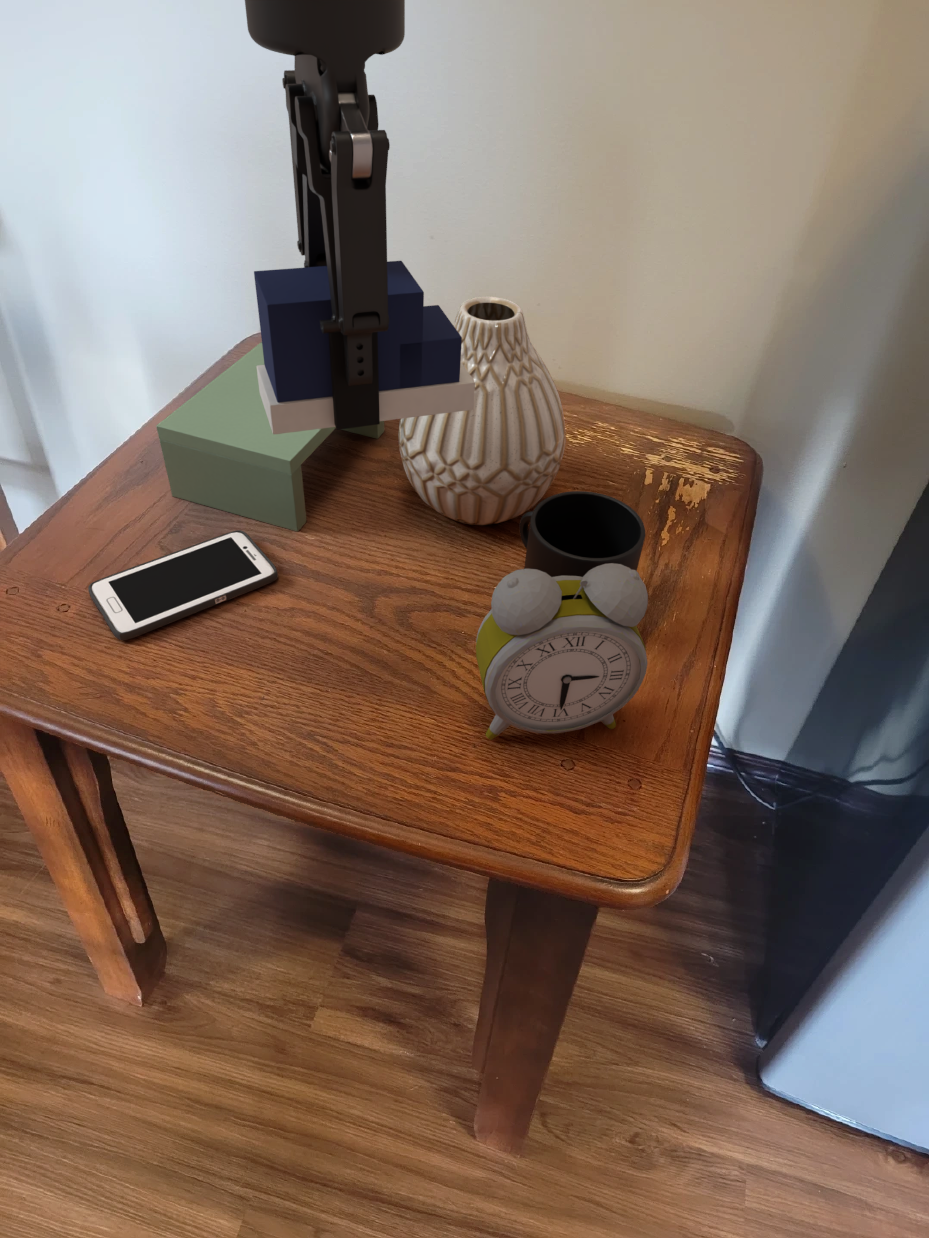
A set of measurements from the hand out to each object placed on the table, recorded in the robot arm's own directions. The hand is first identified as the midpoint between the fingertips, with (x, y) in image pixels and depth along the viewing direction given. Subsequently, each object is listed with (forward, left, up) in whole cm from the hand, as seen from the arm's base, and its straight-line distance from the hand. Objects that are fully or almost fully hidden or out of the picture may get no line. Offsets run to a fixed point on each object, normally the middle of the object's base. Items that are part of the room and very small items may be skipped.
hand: (346, 400), depth 55 cm
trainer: (+1, +1, 0) cm, 1 cm away
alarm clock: (+16, +5, -23) cm, 28 cm away
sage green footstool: (-25, +14, -23) cm, 37 cm away
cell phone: (-16, -5, -23) cm, 28 cm away
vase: (-6, +23, -23) cm, 33 cm away
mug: (+9, +17, -23) cm, 30 cm away
